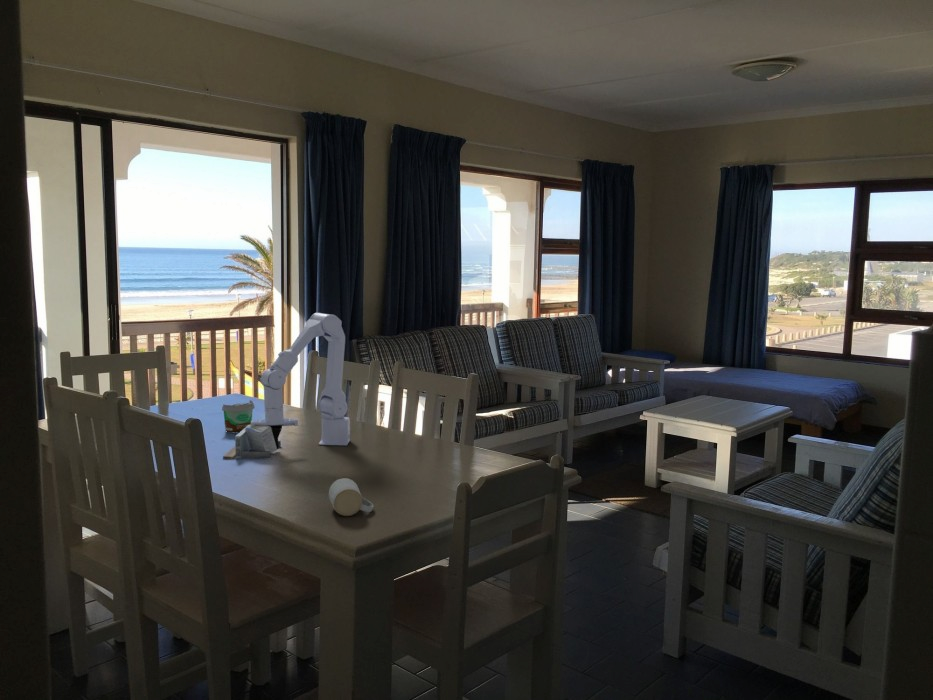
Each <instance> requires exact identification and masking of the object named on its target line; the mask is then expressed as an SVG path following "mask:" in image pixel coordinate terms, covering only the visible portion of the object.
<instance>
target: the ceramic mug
mask: <svg viewBox="0 0 933 700" xmlns="http://www.w3.org/2000/svg"><path fill="white" fill-rule="evenodd" d="M328 498H329V501H330V504H331V505H332V506H333V509H334V511H335V512H336V513H337V514H338V515H341V516H343V517H351V516H353V515H356V514H357V513H358V512H359V511H362V512H365V513H371V512H372V511H373V509H374V504H373V503H372V502H371V501H370V500H368V499H366V498H364V497H363V496H362V493H361V491H360V489H359V486H358V484H357V483H356V481H354V480H353V479H350V478H345V477H344V478H339V479H336V480H335V481H333V483H332V484H331V485H330V487H329V489H328Z"/></svg>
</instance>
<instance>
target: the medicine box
mask: <svg viewBox="0 0 933 700" xmlns="http://www.w3.org/2000/svg"><path fill="white" fill-rule="evenodd" d="M245 431H246V435H247V438H248V442H249V445H250V451H271V455H272V454H273V453H275V452H276V451H277V450H278V449H277V447H276V444H275V440H274V436H273V433H272V429H271V427H270V426H266V425H255V426H253V427H251V425H250V426H248V427H247V428H245Z"/></svg>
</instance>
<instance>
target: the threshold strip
mask: <svg viewBox="0 0 933 700" xmlns="http://www.w3.org/2000/svg"><path fill="white" fill-rule="evenodd" d="M222 459H223V460H234V459H236V451H235V445H234V446H233V447H232V448H231V449H229V451H228V452H227V453H225V454H224V455H223V457H222Z"/></svg>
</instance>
